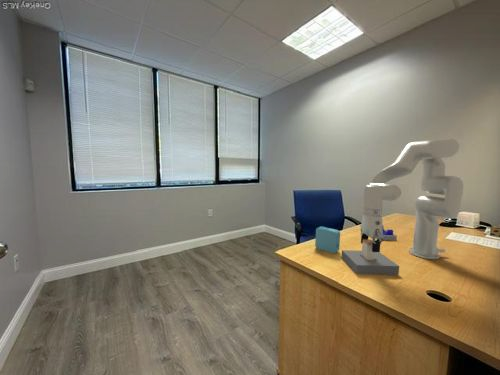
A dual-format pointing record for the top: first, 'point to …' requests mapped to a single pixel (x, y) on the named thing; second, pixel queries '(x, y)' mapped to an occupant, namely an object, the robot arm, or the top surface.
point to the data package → (327, 239)
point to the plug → (367, 250)
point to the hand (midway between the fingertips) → (369, 247)
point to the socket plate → (370, 263)
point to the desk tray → (389, 237)
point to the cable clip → (388, 232)
